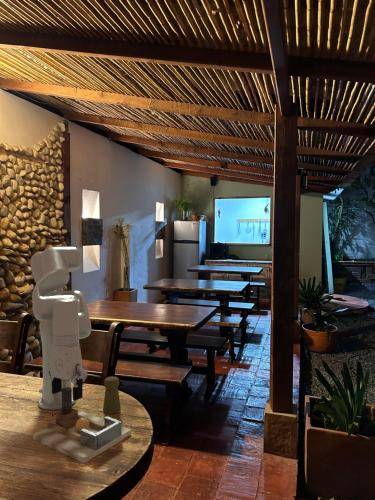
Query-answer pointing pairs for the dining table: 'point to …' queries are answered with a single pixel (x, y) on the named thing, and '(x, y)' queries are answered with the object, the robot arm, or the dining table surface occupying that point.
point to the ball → (82, 424)
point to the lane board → (75, 438)
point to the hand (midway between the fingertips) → (67, 395)
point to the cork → (111, 395)
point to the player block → (66, 410)
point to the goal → (102, 434)
